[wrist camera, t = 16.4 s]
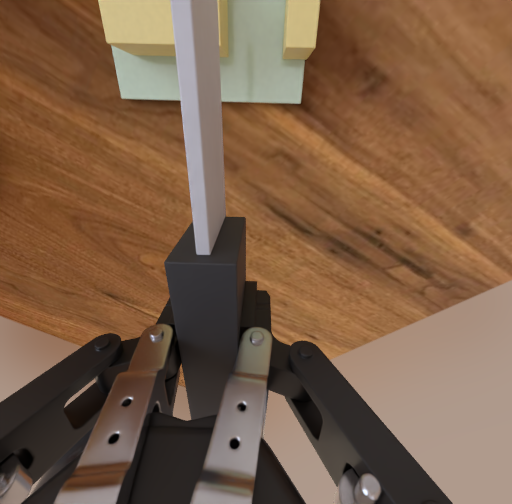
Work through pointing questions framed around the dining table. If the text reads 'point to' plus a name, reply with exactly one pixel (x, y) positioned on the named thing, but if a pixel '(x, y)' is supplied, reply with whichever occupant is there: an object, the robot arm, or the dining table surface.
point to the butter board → (226, 62)
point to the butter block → (150, 26)
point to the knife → (205, 220)
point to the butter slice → (300, 28)
